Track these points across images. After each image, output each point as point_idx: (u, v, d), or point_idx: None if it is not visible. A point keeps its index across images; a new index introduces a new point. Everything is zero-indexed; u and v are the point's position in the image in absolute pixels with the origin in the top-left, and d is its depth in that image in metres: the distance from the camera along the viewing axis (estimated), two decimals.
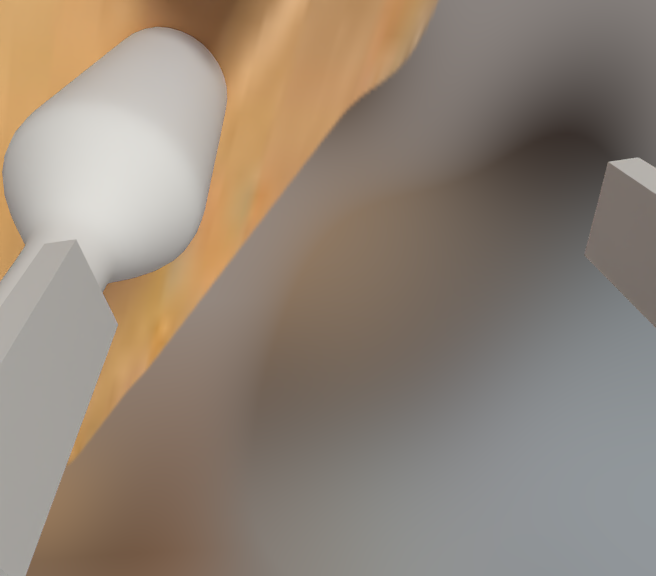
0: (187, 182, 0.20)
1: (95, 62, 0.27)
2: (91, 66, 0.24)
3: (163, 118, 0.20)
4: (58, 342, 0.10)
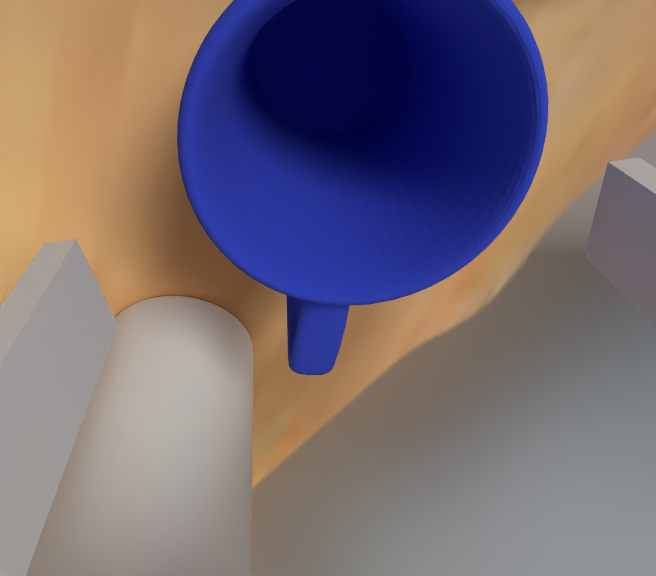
0: None
1: (80, 429, 0.19)
2: (73, 479, 0.17)
3: None
4: (58, 342, 0.10)
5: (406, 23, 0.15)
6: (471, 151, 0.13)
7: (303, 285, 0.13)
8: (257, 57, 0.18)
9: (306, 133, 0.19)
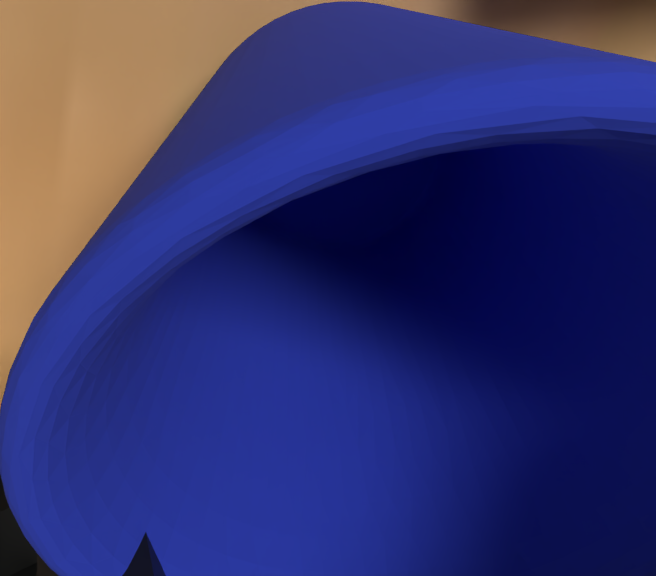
0: None
1: None
2: None
3: None
4: None
5: None
6: (615, 375, 0.07)
7: None
8: None
9: (310, 247, 0.13)
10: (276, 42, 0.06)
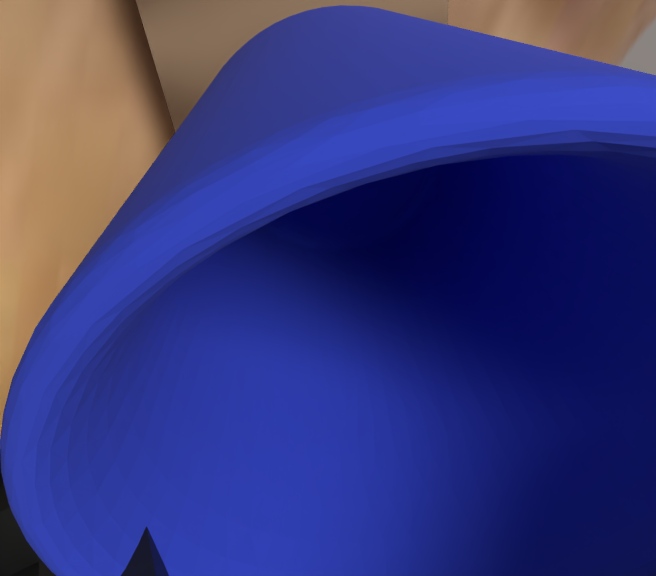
0: None
1: None
2: None
3: None
4: None
5: None
6: (613, 378, 0.07)
7: None
8: None
9: (310, 249, 0.13)
10: (275, 48, 0.06)
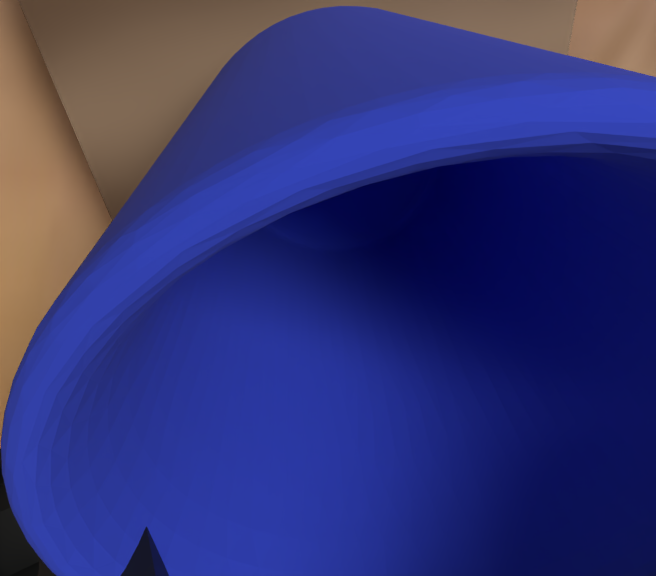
0: None
1: None
2: None
3: None
4: None
5: None
6: (613, 379, 0.07)
7: None
8: None
9: (310, 249, 0.13)
10: (275, 49, 0.06)
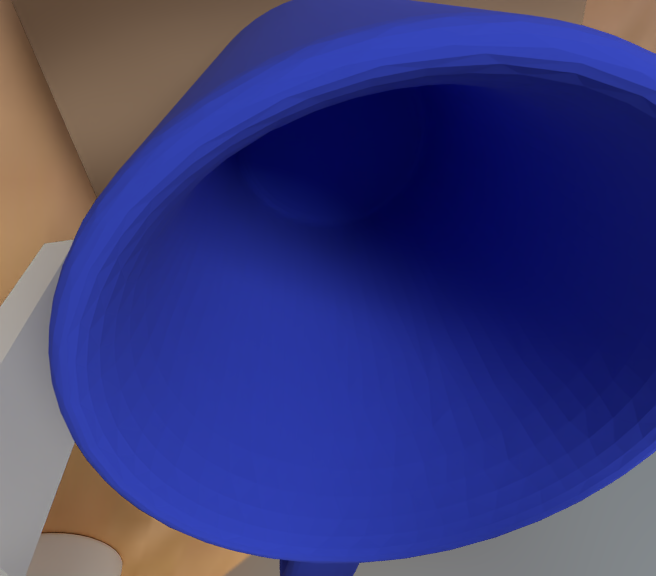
0: None
1: None
2: None
3: None
4: None
5: (453, 97, 0.10)
6: (571, 317, 0.08)
7: (300, 539, 0.08)
8: None
9: (305, 224, 0.14)
10: (271, 22, 0.07)
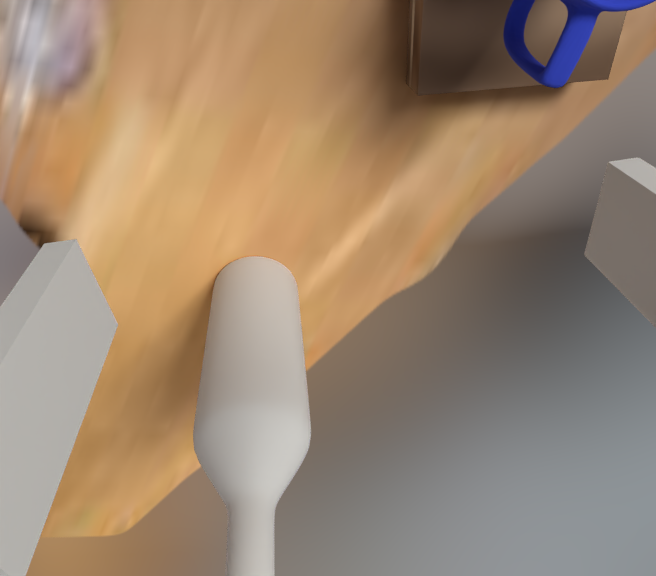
0: (306, 439, 0.32)
1: (225, 312, 0.39)
2: (229, 328, 0.37)
3: (293, 399, 0.32)
4: (58, 342, 0.10)
5: None
6: None
7: None
8: None
9: None
10: None
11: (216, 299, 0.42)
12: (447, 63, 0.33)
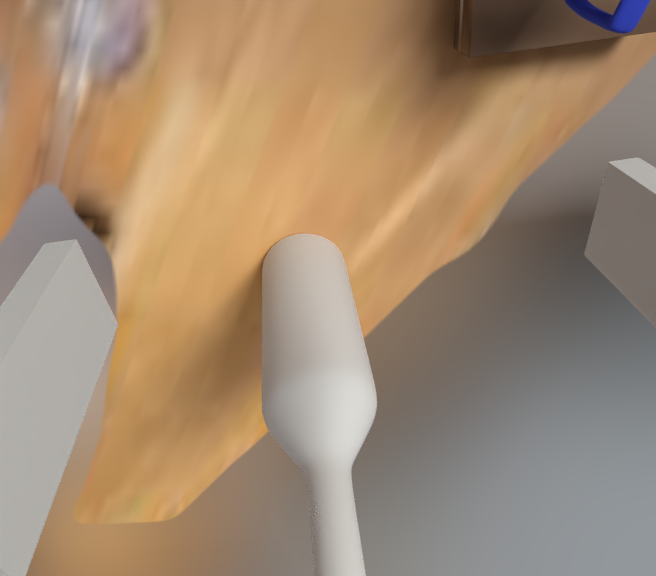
0: (374, 405, 0.33)
1: (280, 286, 0.39)
2: (288, 301, 0.37)
3: (359, 366, 0.33)
4: (58, 342, 0.10)
5: None
6: None
7: None
8: None
9: None
10: None
11: (269, 276, 0.42)
12: (500, 22, 0.33)
